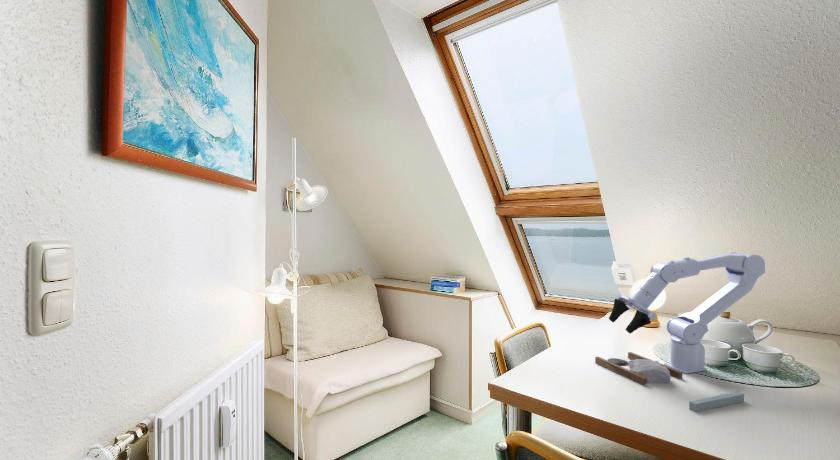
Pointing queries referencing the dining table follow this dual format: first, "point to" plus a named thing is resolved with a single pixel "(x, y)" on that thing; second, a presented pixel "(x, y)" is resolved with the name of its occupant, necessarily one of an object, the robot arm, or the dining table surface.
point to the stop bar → (716, 401)
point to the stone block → (650, 370)
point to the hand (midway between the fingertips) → (619, 326)
